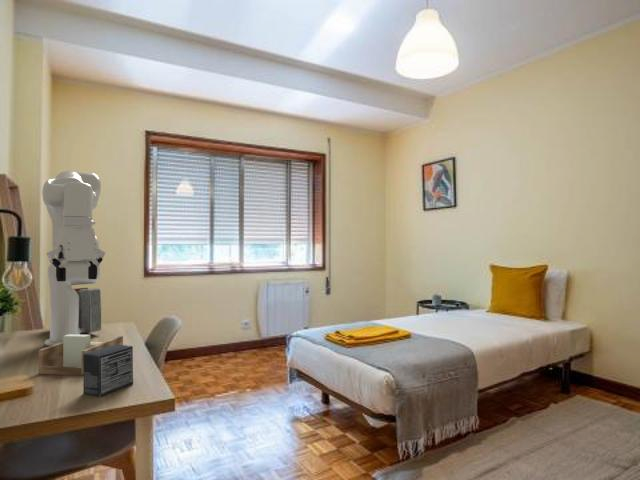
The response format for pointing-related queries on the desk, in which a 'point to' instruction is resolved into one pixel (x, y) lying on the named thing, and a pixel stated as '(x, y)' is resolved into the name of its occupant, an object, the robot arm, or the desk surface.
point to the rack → (54, 358)
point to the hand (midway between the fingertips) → (77, 280)
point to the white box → (74, 349)
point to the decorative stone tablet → (89, 309)
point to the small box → (107, 370)
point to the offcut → (94, 343)
